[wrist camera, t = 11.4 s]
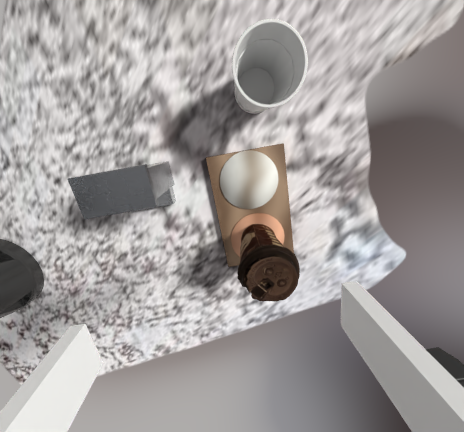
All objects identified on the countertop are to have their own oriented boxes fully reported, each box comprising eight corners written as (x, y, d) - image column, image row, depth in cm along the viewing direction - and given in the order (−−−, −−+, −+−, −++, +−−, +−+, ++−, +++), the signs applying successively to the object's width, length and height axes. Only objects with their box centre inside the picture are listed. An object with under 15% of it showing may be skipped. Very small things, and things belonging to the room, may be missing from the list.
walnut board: (228, 263, 44) (228, 267, 42) (206, 157, 37) (205, 157, 36) (292, 252, 43) (294, 256, 42) (281, 143, 37) (284, 143, 35)
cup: (271, 124, 36) (293, 116, 24) (223, 111, 35) (224, 96, 23) (286, 70, 33) (318, 32, 22) (236, 54, 32) (243, 7, 21)
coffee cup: (236, 261, 42) (241, 310, 30) (230, 221, 39) (234, 256, 27) (281, 255, 42) (305, 302, 30) (278, 215, 39) (304, 247, 27)
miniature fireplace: (132, 208, 39) (92, 237, 27) (118, 167, 37) (67, 178, 25) (181, 200, 39) (162, 225, 27) (170, 157, 37) (144, 164, 25)
